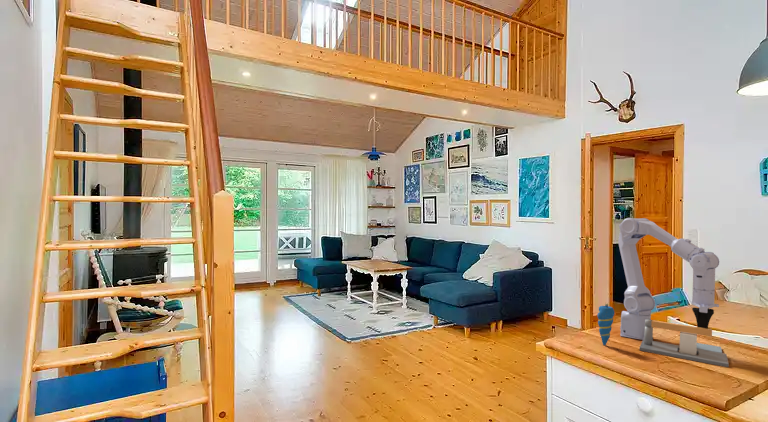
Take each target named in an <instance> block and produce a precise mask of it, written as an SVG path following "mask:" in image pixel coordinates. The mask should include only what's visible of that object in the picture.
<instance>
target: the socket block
mask: <svg viewBox="0 0 768 422" xmlns="http://www.w3.org/2000/svg"><path fill="white" fill-rule="evenodd" d="M653 335H654V327H648V326H645V332H644V339H643V340H641V343H640V346H639V349H638V350H639V351H641V352H647V353H650V354H651V353H652V354H656V355H661V356H662V355H663V356H667V357H673V358H678V359H683V360H687V361H694V362H699V363H703V364H709V365H714V366H719V367H725V368H729V359H728V355H727V353H725V352H724V353H723V352H722V353H719V352H713V351H707V350H702V349H696V355H692V354H686V353H681V352H679V351H680V344H673V343H668V342H661V341H656V340H655V341H654V340H653Z"/></svg>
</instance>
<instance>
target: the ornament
mask: <svg viewBox="0 0 768 422" xmlns="http://www.w3.org/2000/svg"><path fill="white" fill-rule="evenodd" d="M596 316H597V319H598V320H597V324H598V327H599V328H598V333H599V335H600V338H601V341H602V342H601V343H602V345H603V346H607V343H608V341H609V340H610V337H611V331H612V325H613V323H614V316H615V309H614V308H613V307H612V306H609V303H605V304H604V305H600V306H599V307H598V312H597V315H596Z"/></svg>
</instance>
